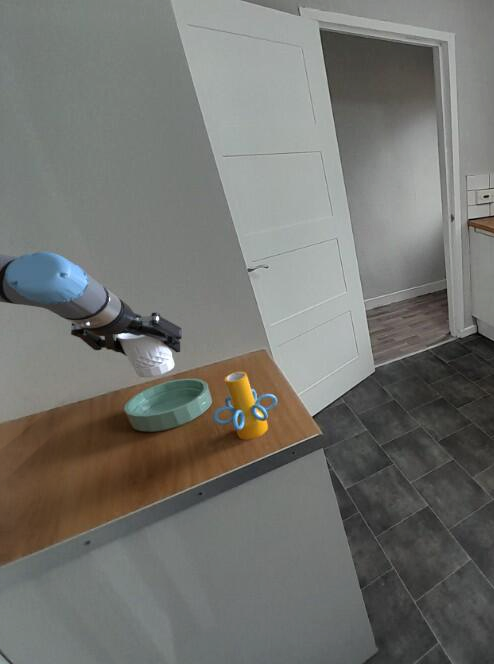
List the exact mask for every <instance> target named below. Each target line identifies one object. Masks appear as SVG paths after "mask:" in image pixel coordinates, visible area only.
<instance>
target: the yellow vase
mask: <svg viewBox="0 0 494 664" xmlns="http://www.w3.org/2000/svg"><path fill="white" fill-rule="evenodd" d="M223 379H224V383H225V385H226V389H227V392H228V394H229V396H226V397H225V399H224V403H225V406H221V407H219V408H218V409H216V410H215V411H214V412H213V414H212V420H213V421H214V422H215V424H218V425H227V424H230V423H232V425H233V428H234V430H235V431H236V434H237V436H238V438H240V439H241V440H243V441H244V440H245V441H248V440H254V439H257V438H259V437H261V436H262V435H264V434H265V433H266V432H267V431H268V429H269V425H268V421H267V419H268V418H269V416H268V415H269V414H268V411H270V410H273V409H274V408H275V407H276V406H277V404H278V398H277V397H276V396H275V395H274V394H271V393H264V394H262V395H260V396H259V397H258V394H257V392H256V390H255V389H254V388H252V387H251V384H250V380H249V378H248V374H247V372H245V371H235V372H232V373H229V374H227V375H226V376H225V377H224V378H223ZM266 398H270V399H271V400H272V403H271V404H270V405H269V406H266V407H265V406H262V405H261V404H260V403H261V401H262V400H263V399H266ZM230 401H231V402H230ZM231 403H232V404H231ZM223 411H230V412H231V413H232V415H231V417H230V418H228V419H226V420H221V419H220V418H218V416H219V414H220V413H222V412H223Z"/></svg>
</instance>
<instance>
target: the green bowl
mask: <svg viewBox="0 0 494 664" xmlns="http://www.w3.org/2000/svg"><path fill="white" fill-rule="evenodd" d="M212 404H213V396H212V394H211V390H210V387H209V384H208V383H207V382H206V381H205V380H203V379H199V378H179V379H173V380H169V381H165V382H162V383H159V384H156V385H153V386H150V387H148V388H146V389H144V390H142V391H140V392H138V393H137V394H135V395H133V396H132V397H131V398H130V399H129V400H128V401H127V402H126V403H125V404H124V408H123V410H124V414H125V415H126V417H127V420H128V422H129V424H130V426H131V427H132V428H133V429H134V430H137V431H140V432H148V433H153V432H154V433H155V432H156V433H157V432H163V431H168V430H171V429H175V428H178V427H181V426H183V425H185V424H188V423H189V422H191V421H194V420H195V419H197V418H199V417H200V416H202V415H203V414H204V413H205V412H206V411H207V410H208V409H209V408H210V407H211V405H212Z"/></svg>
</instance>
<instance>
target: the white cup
mask: <svg viewBox="0 0 494 664" xmlns="http://www.w3.org/2000/svg"><path fill="white" fill-rule="evenodd" d="M116 338H118V340H119V342H120V344H121V346H122V348H123V350H124V352H125V354H126V355H127V356H126V355H125V356H126V357H127V359H128V361H129V364H130V365H131V366H132V367H133V369H134V372H135V373H136V375H137V376H138V377H139V378H154V377H158V376H160V375H164V374H166V373H168V372H170V371H172V369H174V368H175V365H176V364H175V361H174V357H173V353H172V349H171V348H170V347H168V346H167V345H165V344H164V341H163V340H160V339H156V338H152V337H149V336H145V335H140V336H137V335H133V334H129V333H127V334H125V333H122V334H116Z"/></svg>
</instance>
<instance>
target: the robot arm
mask: <svg viewBox="0 0 494 664" xmlns="http://www.w3.org/2000/svg"><path fill="white" fill-rule="evenodd" d="M0 303H5V304H13V305H22V306H29V307H36V308H42V309H45V310H47V311H49V312H52V313H53V314H56V315H57V316H59V317H60V318H62V319H64V320H67V321H68V322H70V323H71V327H70V335H71V336H73V337H76V338H79V339H80V340H82V341H83V342H84V343H85V344H86V345H87V346H89V348H91V349H92V350H94V351H101V350H102V349H106V350H107V351H108V350H110V351H113V352H115V353H120V354H122V355H124V356H126V357H127V355H126V354H125V352H124V350H123V348H122V346H121V344H120V342H119V340H118V338H117V337H116V336H117V335H118V334H122V333H125V334H127V333H129V334H133V335H137V336H140V335H145V336H149V337H152V338H156V339H160V340H163V341H164V344H165V345H167V346H168V347H170V349H171V351H174V352H175V353H181V340H182V338H183V337H182V335H183V334H182V327H181V326H179V325H177V324H175V323H173V322H172V321H169V320H168V319H166V318H164V317H162V316H161V314H160V312H151V315H149V316H148V315H147V316H142V315H141V314H138V313H135V312H134V311H133V309H132V308H131V307H130V306H129V305H128V304H127V303H126V302H124V301H123V300H122V299H120V298H119V297H118V296H117V295H116V294H115V293H113V292H112V291H110V290H109V289H108V288H106V287H104V286H103V285H102V284H101V283H99V282H98V280H96V279H95V278H93V277H92V276H91V275H89V274H88V273H87V272H86V271H85V270H84V269H83V268H81V267H80V266H79V265H78V264H75V263H74V262H73V261H70V260H68V259H67V258H65V257H64V256H62V255H59V254H57V253H54V252H49V251H38V252H33V253H26V254H23V255H20V256H14V255H9V254H3V253H0ZM102 337H104V339H103V338H102Z"/></svg>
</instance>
